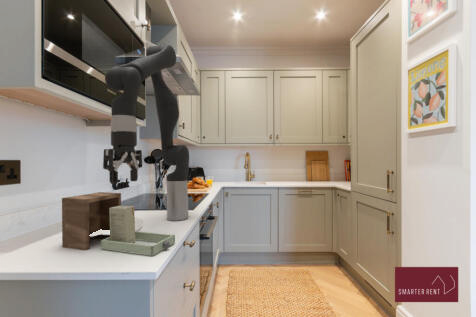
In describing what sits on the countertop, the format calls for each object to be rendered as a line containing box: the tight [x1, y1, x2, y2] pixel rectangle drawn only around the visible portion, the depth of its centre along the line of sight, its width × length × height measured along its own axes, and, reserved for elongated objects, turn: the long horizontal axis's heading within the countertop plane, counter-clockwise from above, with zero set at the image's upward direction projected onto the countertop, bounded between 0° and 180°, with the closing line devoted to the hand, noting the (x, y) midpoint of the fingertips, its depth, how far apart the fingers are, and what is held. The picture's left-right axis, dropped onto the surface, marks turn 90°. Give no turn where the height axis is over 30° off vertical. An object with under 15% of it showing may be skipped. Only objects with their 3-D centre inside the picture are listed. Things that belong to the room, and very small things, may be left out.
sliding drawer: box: [100, 230, 176, 256], centre depth 80 cm, size 11×20×2 cm, turn 72°
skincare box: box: [109, 205, 136, 244], centre depth 81 cm, size 6×4×12 cm
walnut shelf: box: [61, 191, 122, 251], centre depth 86 cm, size 14×10×15 cm, turn 162°
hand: (124, 182), depth 82 cm, fingers open, 8 cm apart
